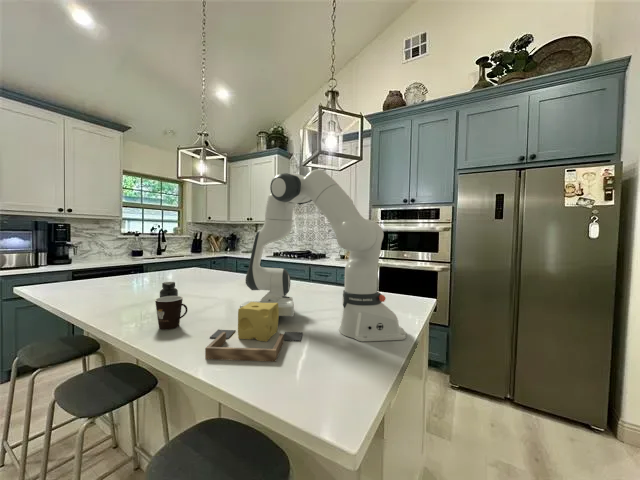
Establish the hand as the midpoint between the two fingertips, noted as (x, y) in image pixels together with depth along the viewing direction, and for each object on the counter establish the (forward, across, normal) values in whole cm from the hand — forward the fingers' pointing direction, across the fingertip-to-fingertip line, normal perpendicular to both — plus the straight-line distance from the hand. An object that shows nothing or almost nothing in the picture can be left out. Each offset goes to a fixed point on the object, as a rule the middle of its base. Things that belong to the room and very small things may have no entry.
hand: (262, 314), depth 103 cm
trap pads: (+7, 0, +5) cm, 9 cm away
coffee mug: (+2, -32, +5) cm, 33 cm away
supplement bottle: (-18, -44, +5) cm, 48 cm away
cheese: (+6, 0, +5) cm, 8 cm away
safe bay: (+19, 0, +5) cm, 19 cm away
